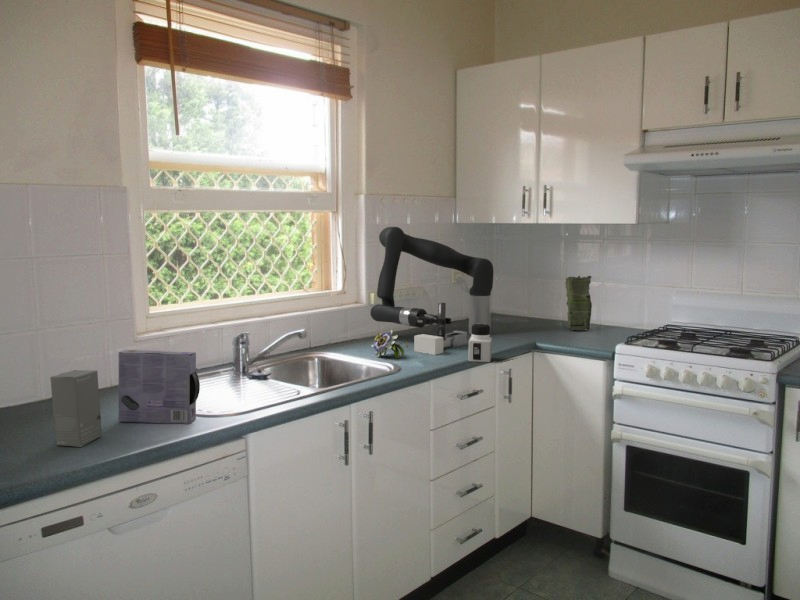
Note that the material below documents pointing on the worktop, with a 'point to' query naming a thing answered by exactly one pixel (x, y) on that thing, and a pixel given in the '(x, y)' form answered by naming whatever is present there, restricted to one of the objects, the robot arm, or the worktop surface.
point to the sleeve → (458, 338)
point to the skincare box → (76, 407)
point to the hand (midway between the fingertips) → (447, 321)
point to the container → (480, 343)
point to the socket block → (428, 344)
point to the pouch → (578, 302)
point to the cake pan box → (157, 386)
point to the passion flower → (387, 344)
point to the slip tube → (443, 326)
